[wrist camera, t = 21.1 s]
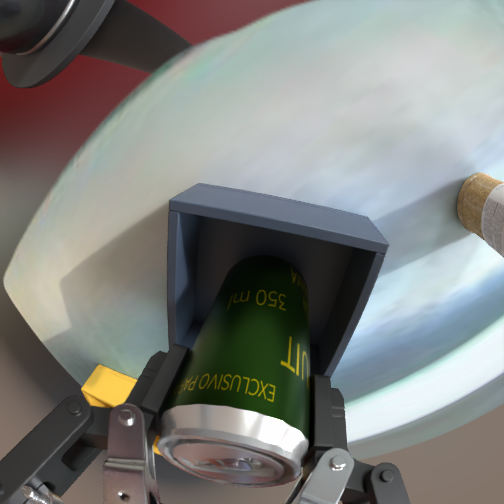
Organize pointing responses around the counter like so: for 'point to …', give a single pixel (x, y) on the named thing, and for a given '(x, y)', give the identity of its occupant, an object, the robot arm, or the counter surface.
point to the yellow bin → (109, 390)
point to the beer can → (246, 382)
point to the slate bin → (276, 244)
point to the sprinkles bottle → (483, 209)
